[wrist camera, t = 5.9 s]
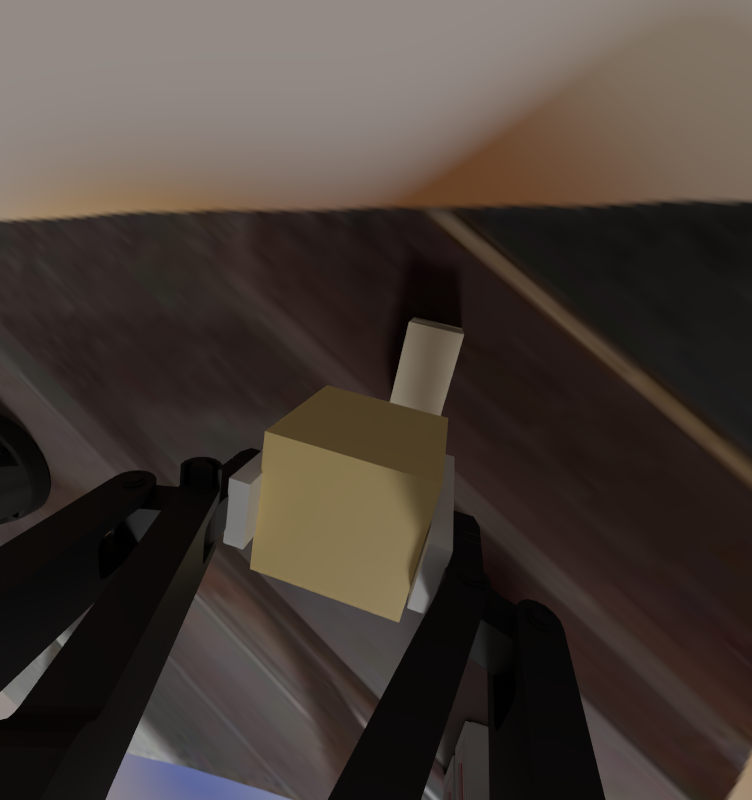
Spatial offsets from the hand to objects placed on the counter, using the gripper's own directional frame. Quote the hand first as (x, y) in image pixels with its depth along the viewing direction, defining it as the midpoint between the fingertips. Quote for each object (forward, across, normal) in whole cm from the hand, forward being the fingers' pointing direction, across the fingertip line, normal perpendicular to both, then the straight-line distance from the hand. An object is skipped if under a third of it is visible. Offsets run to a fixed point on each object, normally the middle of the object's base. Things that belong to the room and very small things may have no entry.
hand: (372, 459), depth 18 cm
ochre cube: (0, 0, 0) cm, 0 cm away
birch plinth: (+18, +1, +1) cm, 18 cm away
